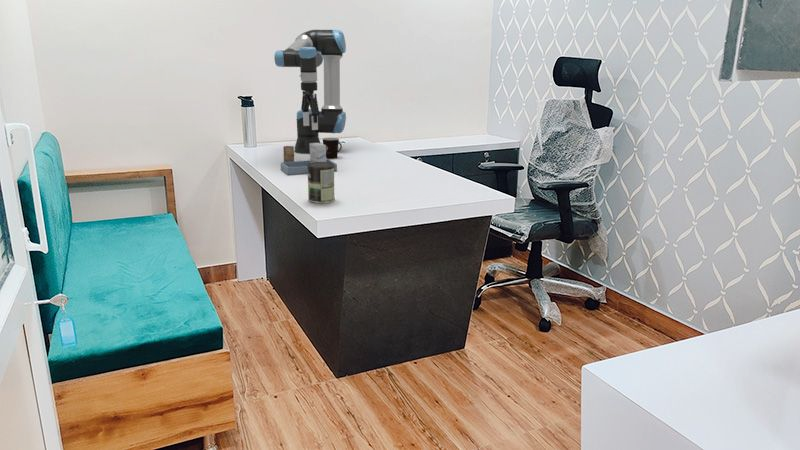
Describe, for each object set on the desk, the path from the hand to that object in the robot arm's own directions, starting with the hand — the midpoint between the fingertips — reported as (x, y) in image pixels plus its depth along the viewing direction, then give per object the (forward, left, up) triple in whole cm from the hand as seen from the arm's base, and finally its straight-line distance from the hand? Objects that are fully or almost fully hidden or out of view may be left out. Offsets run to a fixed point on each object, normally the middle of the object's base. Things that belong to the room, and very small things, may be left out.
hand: (310, 127), depth 282 cm
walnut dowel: (-13, -8, -20) cm, 25 cm away
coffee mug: (-22, +17, -20) cm, 34 cm away
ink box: (+4, +2, -19) cm, 20 cm away
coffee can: (+59, -13, -20) cm, 64 cm away
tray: (+4, -3, -20) cm, 20 cm away
